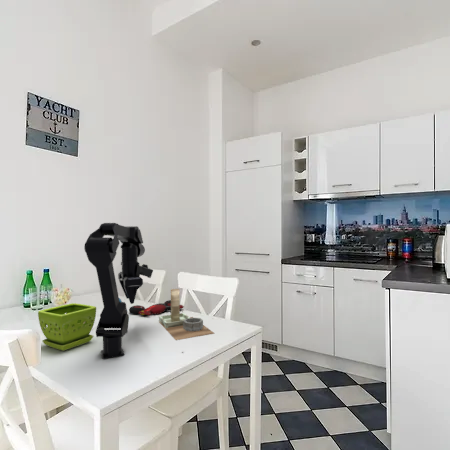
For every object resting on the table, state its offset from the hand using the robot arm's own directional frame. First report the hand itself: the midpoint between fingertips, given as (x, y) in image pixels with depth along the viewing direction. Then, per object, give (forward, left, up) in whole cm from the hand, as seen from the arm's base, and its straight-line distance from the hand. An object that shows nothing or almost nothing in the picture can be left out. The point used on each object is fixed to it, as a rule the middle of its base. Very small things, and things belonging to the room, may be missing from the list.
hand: (130, 300), depth 118 cm
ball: (+35, +2, -13) cm, 37 cm away
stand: (-3, -20, -13) cm, 24 cm away
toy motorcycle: (+27, -17, -14) cm, 35 cm away
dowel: (+4, -19, -11) cm, 23 cm away
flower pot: (+1, +21, -13) cm, 25 cm away
